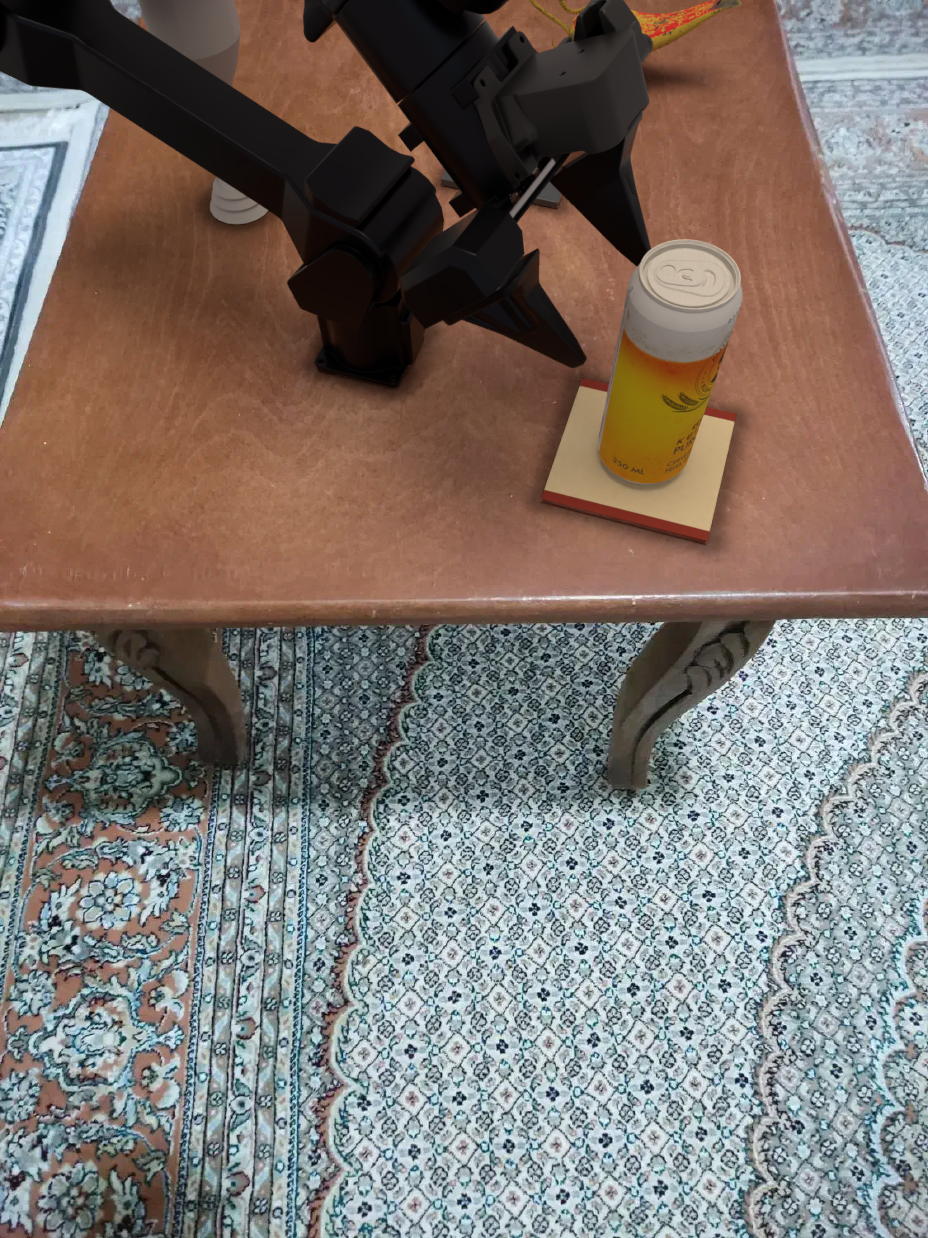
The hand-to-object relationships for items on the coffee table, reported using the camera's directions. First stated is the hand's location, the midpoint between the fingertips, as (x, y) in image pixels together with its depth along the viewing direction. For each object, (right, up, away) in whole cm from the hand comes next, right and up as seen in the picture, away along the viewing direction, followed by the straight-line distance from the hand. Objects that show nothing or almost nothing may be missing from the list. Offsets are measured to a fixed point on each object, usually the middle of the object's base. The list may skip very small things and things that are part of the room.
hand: (614, 311), depth 51 cm
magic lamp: (+6, +31, +30) cm, 43 cm away
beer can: (+3, -7, +9) cm, 12 cm away
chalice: (-27, +16, +22) cm, 38 cm away
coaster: (-4, +21, +24) cm, 32 cm away
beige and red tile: (+3, -7, +9) cm, 12 cm away
